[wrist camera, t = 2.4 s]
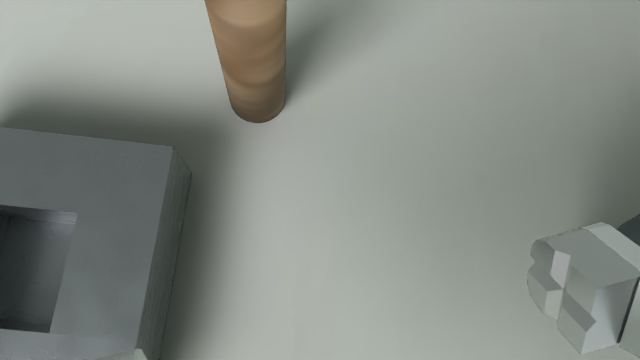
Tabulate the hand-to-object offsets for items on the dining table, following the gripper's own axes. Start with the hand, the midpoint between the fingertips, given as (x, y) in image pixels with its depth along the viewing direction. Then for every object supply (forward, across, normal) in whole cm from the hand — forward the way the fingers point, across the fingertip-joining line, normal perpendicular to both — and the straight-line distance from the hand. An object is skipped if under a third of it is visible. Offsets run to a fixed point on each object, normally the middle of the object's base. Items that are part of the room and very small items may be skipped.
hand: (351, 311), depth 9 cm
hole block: (+14, +12, +7) cm, 20 cm away
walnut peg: (+20, 0, +2) cm, 20 cm away
